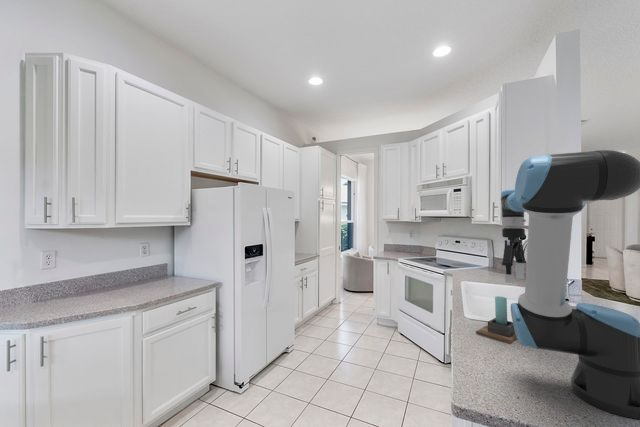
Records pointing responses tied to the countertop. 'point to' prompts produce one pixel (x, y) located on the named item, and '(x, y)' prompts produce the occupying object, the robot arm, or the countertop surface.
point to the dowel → (501, 310)
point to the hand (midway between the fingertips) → (515, 280)
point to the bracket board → (498, 331)
